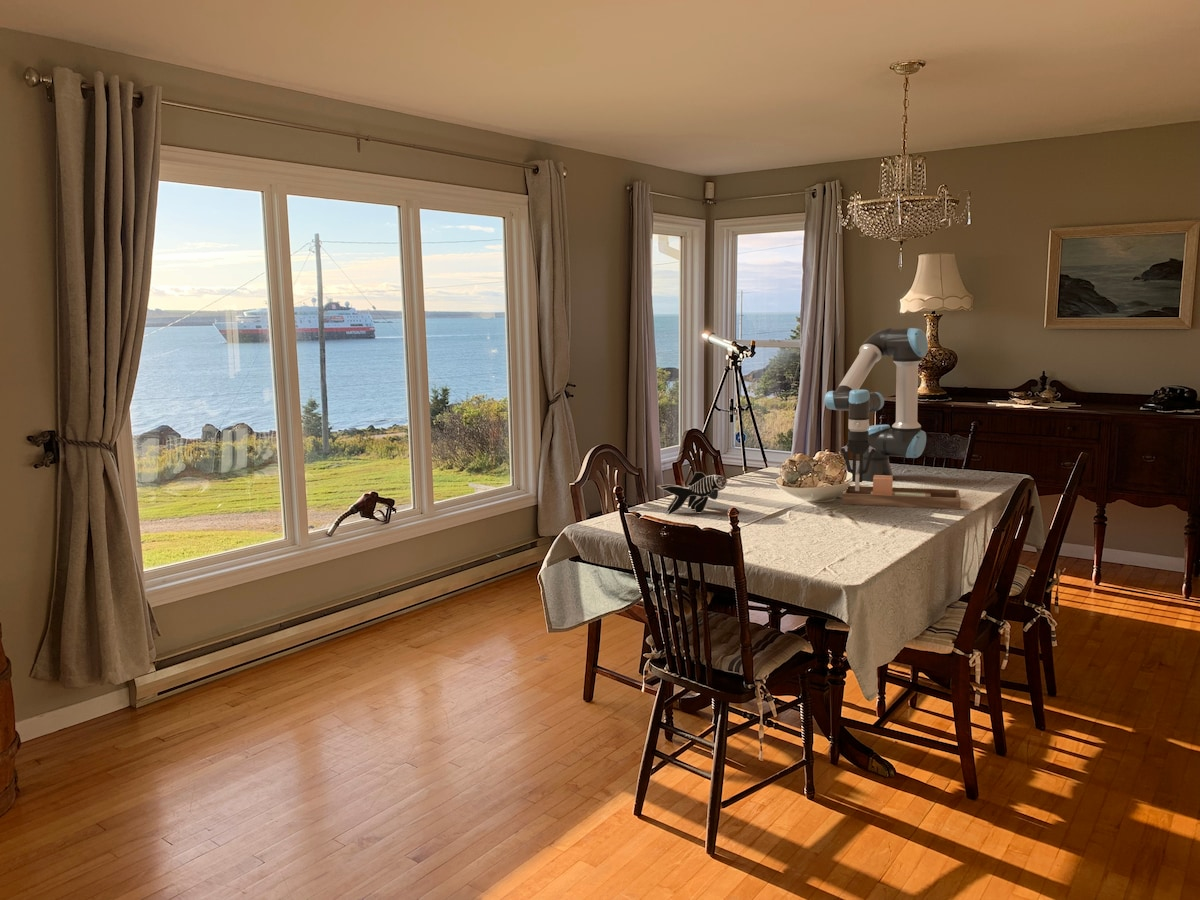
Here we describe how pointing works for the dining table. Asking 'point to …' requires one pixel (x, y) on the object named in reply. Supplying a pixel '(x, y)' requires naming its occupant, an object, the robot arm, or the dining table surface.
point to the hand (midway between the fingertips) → (857, 490)
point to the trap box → (904, 497)
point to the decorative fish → (695, 492)
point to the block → (882, 485)
